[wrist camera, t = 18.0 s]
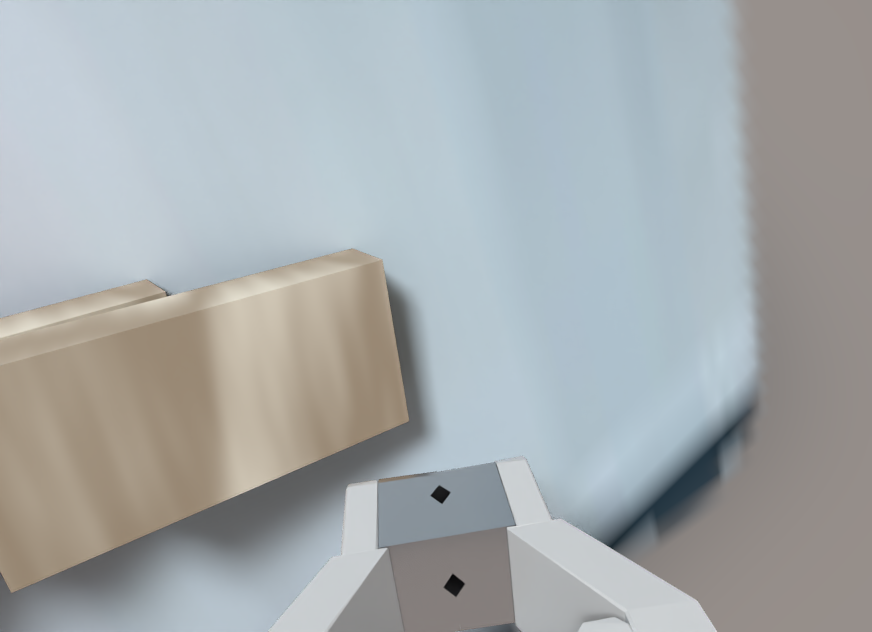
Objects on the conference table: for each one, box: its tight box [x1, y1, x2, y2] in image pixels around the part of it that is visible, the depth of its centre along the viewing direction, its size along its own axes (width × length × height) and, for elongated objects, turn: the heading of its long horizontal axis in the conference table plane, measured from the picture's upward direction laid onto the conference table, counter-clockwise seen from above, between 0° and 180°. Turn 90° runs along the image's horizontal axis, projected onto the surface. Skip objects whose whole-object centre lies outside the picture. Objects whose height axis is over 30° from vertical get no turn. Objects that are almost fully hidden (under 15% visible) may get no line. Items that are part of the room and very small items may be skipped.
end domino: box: [0, 249, 409, 593], centre depth 14 cm, size 2×5×10 cm
